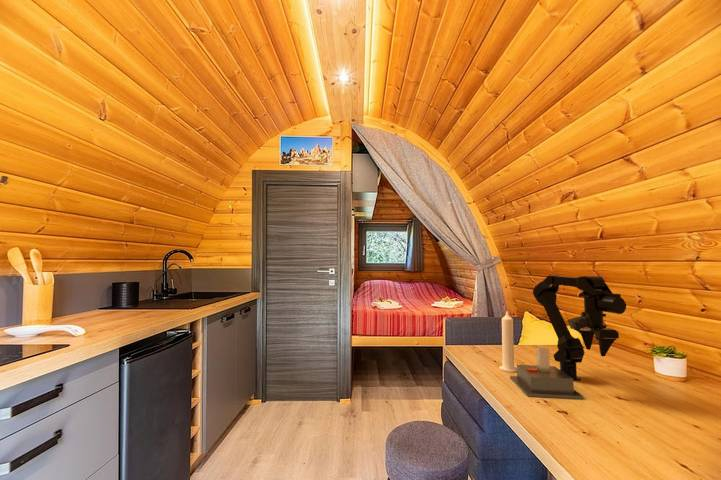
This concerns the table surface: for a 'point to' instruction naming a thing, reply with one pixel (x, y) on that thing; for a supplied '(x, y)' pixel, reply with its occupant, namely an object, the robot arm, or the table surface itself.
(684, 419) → the table surface
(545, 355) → the post
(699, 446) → the table surface
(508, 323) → the candle
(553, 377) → the stand
